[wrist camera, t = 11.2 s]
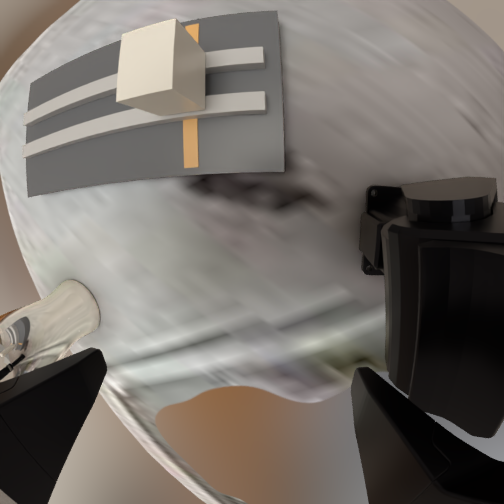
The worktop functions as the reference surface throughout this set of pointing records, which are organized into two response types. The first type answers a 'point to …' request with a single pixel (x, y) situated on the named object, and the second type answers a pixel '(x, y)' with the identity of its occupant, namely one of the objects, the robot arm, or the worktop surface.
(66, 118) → the fader console
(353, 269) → the worktop surface
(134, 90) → the fader knob
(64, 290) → the beer glass
